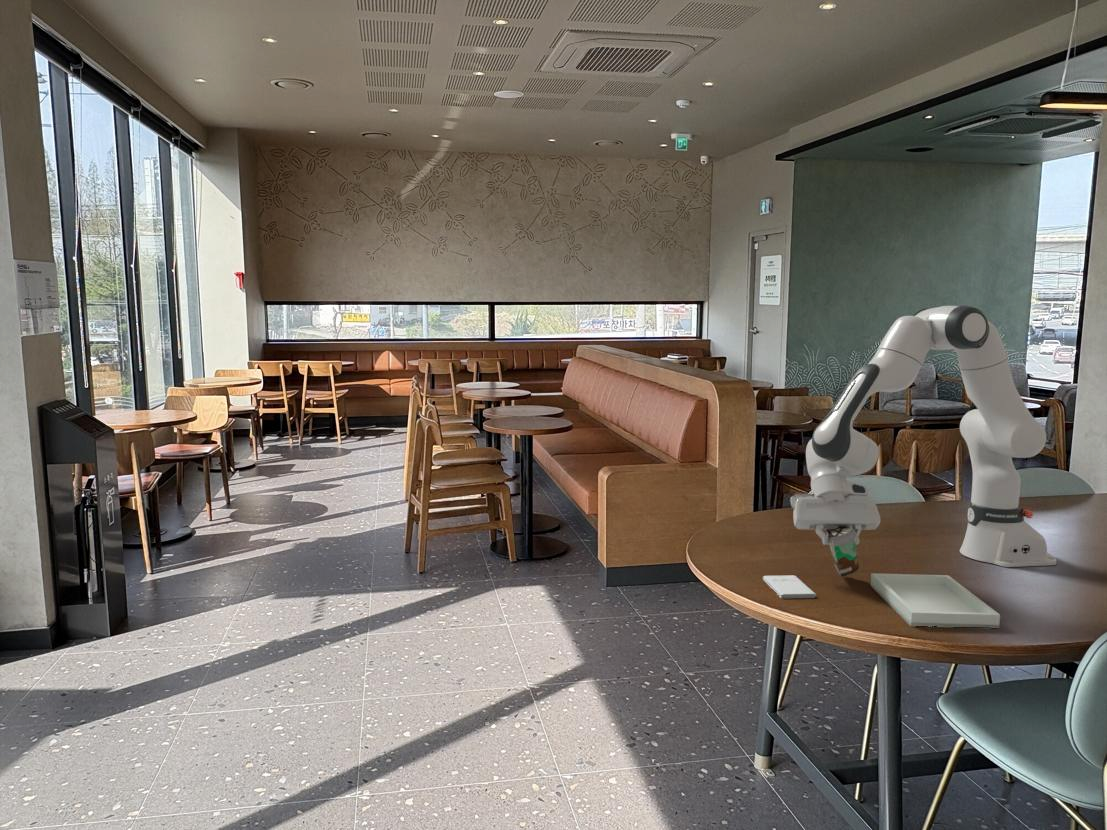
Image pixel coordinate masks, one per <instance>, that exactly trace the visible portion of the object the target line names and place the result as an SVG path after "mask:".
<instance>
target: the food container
mask: <svg viewBox="0 0 1107 830" xmlns="http://www.w3.org/2000/svg"><path fill="white" fill-rule="evenodd" d="M824 531H825V534H826V535H830V540H831V543H830V545H828V546H829V549H830V553H831V556H832V561H833V564H834V567H835V569H836V570H837V572H838V574H839V576H840V578H841V577H846V576H849V575H852V574H854V573H856V572H857V571H858V570H859V568H860V566H859V560H858V559H859V558H858V553H857V548H856V546H857V545H855V540H854V539H855V537H856V533H855V531H854V529H853V528H852V526H851V525H849V524H843V525H842V526H839V527H838V528H836V529H824Z"/></svg>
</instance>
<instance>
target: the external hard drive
mask: <svg viewBox="0 0 1107 830" xmlns="http://www.w3.org/2000/svg"><path fill="white" fill-rule="evenodd" d="M762 580H763V581H764V583H766V585H768V586H769V588H770V589H773V590H774V591H775V592H776V593H777V594H776V593H775V594H776V595H777V596H778V595H779V596H778V597H779V598H780V599H816V598H817V594H816V593H815V592H814V591H813V590H812V589H811V588H810V587H808V585H806V584H805V583H804V582H803V581H802V580H801V579H800V578H798V577H797V576H796V575H795V574H794V575H792V574H791V575H790V574H789V575H788V574H786V575H764V576H763V575H762ZM773 590H772V591H773ZM774 591H773V592H774ZM815 597H816V598H815Z"/></svg>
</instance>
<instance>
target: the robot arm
mask: <svg viewBox="0 0 1107 830" xmlns="http://www.w3.org/2000/svg"><path fill="white" fill-rule="evenodd" d="M1002 340H1003V339H1002V338H1001V335H1000V333H999V331H998V330H997V328H996V326H995V325H994V324H993V323H992V322H990V321H988V319H987V316H986V315H985V313H983V311H982V310H980V309H979V308H977V307H974V306H970V305H941V306H937V307H932V308H929V307H926V308H922V309H920V310H917V311H915V312H914V313H912V314H911V315H903V316H901V317H898V318H897V319H896V320H895V321H894V322H893V324H892V325H891V326H890V328H889V329H888V330H887V332H886V333H885V335H884V337H883V338H882V340H881V342H880V343H879V346H878V348H877V350H876V352H875V354H874V355H873V357H872V358H871V359H870V361H869V362H868V363H865V364H863V365H862V366H860V367H859V368H858V369H857V370H856V372H854V374H853V376H852V377H851V378H850V380H849V381H848V382H847V384H846V385H845V387H844V388H843V390H842V392H841V394H840V395H839V396H838V397H837V400H836V401H835V403H834V405H833V406H832V408H831V409H830V411H829V412H828V413H827V414H826V416H825V417H824V418H823V419H822V420H821V422H819V424H818V425H817V426H816V427H815V428H814V430H813V433H812V437H811V439H810V440H808V443H807V445H806V449H805V462H806V466H807V467H806V468H807V473H808V475H809V477H810V488H811V493H795V494H794V495H792V496H791V497H790V499H789V502H790V507H791V509H793V513H792V514H793V515H792V518H793V525H794V527H795V528H796V529H797V530H815V534H816V535H817V536H818V537H819V538H820V539H821V542H822V545H823V546H825V545H827V546H829V545H830V543H831V540H830V535H827V534H826V532H824V531H823V530H825V529H836V528H838V527H839V526H842V525H843V524H849V525H851V526H852V528H853V529H854V531H855V533H856V537H855V539H854V540H855V546H859V544H860V538H859V536H860V533H861V532H862V530H863V531H865V530H866V531H873V530H876V529H877V528H878V527H879V525H880V523H881V515H880V513H879V509H878V506H877V505H876V502H875V500H874V499H873V498H872V497H870V494H871V490H870V488H869V487H868V486H865V485H862V484H857V483H854V482H852V481H849V480H848V478H854V477H858V476H860V475H863V474H867V473H868V472H870V471H871V470H872V469H874V468H875V467H876V465H877V464H878V462H879V458H880V449H879V446H878V444H877V442H876V441H874V440H873V439H871V438H870V437H868V436H867V435H865V434H863V433H862V432H860V431H858V430H856V429H854V427H853V423H854V421H855V419H856V418H857V416H858V414H859V413H860V411H861V410H862V408H863V407H864V405H865V403H866V402H867V400H868V399H869V397H870V396H872V395H873V394H875V393H879V392H883V393H895V392H896V393H897V392H901V391H904V390H906V389H907V388H909V387H910V386H911V385H912V384H913V383H914V382H915V380H916V378H917V376H918V375H919V373H920V371H921V368H922V366H923V363H924V362H925V359H926V356H927V355H928V352H929V351H930V350H933V351H948V350H954V351H955V353H956V357H957V361H958V367H959V370H960V374H961V379H962V381H963V385H964V386H963V387H964V389H965V394H966V395H967V398H968V399H969V400H970V402H972V403H973V404H974V406H975V407H976V408H974V409H971V410H969V411H967V412H966V413H965V414H964V415H963V416H962V418H961V420H960V421H959V422H960V423H959V432H960V435H961V436H962V438H963V439H964V441H965V443H966V446H967V449H968V452H969V457H970V462H971V468H972V479H971V480H972V484H971V495H970V497H971V498H970V501H968V508H967V527H966V532H965V536H964V539H963V542H962V544H961V547H960V549H959V553H960V554H961V555H963V556H964V557H967V558H970V559H972V560H975V561H979V562H984V563H989V564H994V565H997V566H1000V567H1004V568H1017V567H1019V568H1020V567H1041V566H1042V567H1043V566H1044V567H1045V566H1056V565H1057V559H1056V558H1055V556H1054V555H1051V554H1050V553H1049V552H1048V546H1047V541H1046V539H1045V537H1044V535H1042V534H1041V533H1040V532H1039V531H1037V530H1036V529H1035V528H1034V527H1032V525H1030V524H1029V523H1028V522H1027V521H1025V518H1027V519H1032V518H1033V517H1034V512H1033V511H1031V510H1029V509H1028V508H1027V509H1025V508H1023V507H1021V506H1019V505H1020V503H1019V502H1020V492H1021V483H1022V480H1021V476H1020V473H1019V472H1018V470H1017V469H1016V467H1015V464H1014V462H1013V458H1019V459H1020V458H1021V459H1022V458H1024V459H1025V458H1026V459H1027V458H1032V457H1035V456H1036V455H1038V454H1039V453H1040V452H1042V450H1043V449H1044V447H1045V446H1046V443H1047V432H1046V430H1045V427H1044V426H1043V425H1042V424H1041V423H1040V422H1038V420H1037V419H1036V418H1035V417H1034V416H1033V415H1032V414H1031V412H1030V410H1029V409H1028V407H1027V406H1026V404H1025V402H1024V401H1023V399H1022V396H1021V395H1020V393H1019V392H1018V388H1017V387H1016V384H1015V382H1014V378H1013V375H1012V371H1011V367H1010V364H1009V360H1008V359H1009V358H1008V355H1007V352H1006V349H1005V346H1004V343H1003V341H1002Z"/></svg>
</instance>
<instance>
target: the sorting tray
mask: <svg viewBox="0 0 1107 830" xmlns="http://www.w3.org/2000/svg"><path fill="white" fill-rule="evenodd" d="M870 587H871V588H872V589H873V590H874V591H875V592H876V593H877V594H878V595H879V596H880V597H881V598H882V599H883V600H884V601H885V602H886V603H887V604H888V605H889V606H890V607H891V608H892V609H893V610H894V611H895V612H896V613H897V614H898V615H899V616H900V617H901V618H902V619H903V620H904V621H905V622H906V623H907V624H908V625H909V626H910V627H916V626H926V627H925V628H935V627H934V626H937V627H936V628H953V627H990V628H989V629H991V628H999V629H1000V623H1001V622H1000V620H1001V614H1000V613H998V612H997V611H996V610H995V609H993V608H992V607H991V606H990V605H988V604H987V603H986V602H984V601H982V600H981V599H980V598H979V597H977V596H976V595H975V594H974V593H972V591H970V590H969V589H967V588H966V587H964V586H963V585H962V584H961V583H959V582H958V581H957V580H955V579H954V578H952V576H950V575H948V574H947V575H946V574H917V573H916V574H914V573H913V574H911V573H910V574H909V573H907V574H906V573H905V574H904V573H874V572H872V573H870ZM927 626H928V627H927ZM932 626H933V627H932ZM950 626H951V627H950Z"/></svg>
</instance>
